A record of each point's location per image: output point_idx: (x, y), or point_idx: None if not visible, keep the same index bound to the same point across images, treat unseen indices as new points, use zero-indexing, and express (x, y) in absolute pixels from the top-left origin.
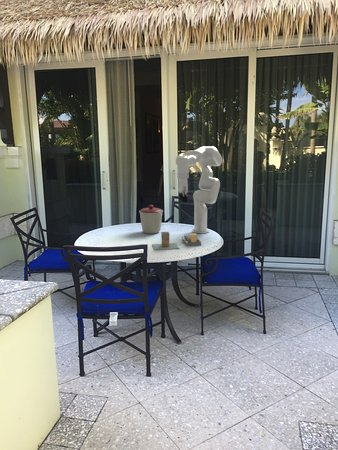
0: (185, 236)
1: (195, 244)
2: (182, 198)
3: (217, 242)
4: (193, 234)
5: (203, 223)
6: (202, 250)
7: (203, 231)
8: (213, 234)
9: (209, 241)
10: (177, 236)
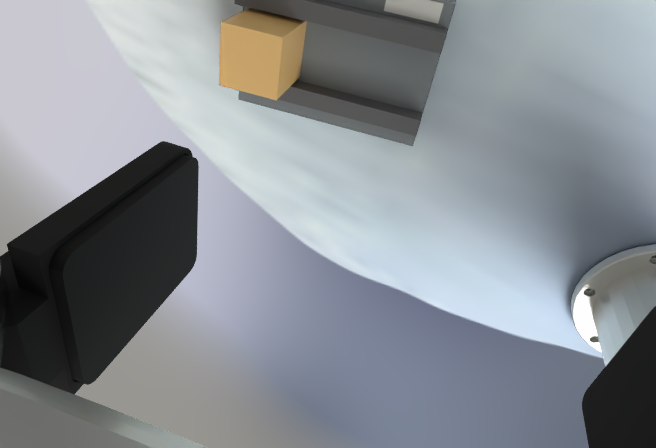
0: (400, 26)
1: None
2: (105, 203)
3: (285, 225)
4: (236, 58)
5: (609, 359)
6: (113, 25)
7: (591, 303)
8: (498, 321)
9: (327, 196)
10: (649, 23)
